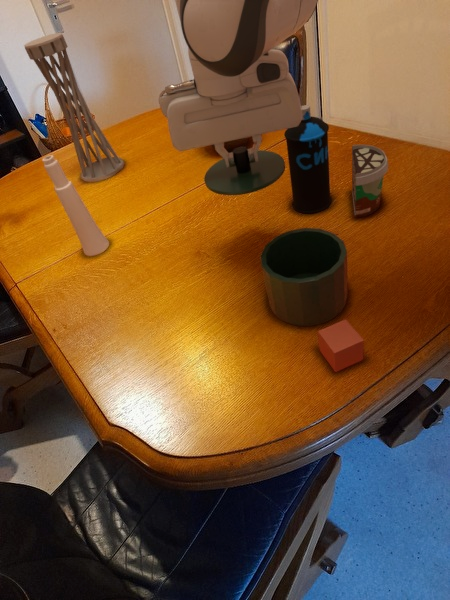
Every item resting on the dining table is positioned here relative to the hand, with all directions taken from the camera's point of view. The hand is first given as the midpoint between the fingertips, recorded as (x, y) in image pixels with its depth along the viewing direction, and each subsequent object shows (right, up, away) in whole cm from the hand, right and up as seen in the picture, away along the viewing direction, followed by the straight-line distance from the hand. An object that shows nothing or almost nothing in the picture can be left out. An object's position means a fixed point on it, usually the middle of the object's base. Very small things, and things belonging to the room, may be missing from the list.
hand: (242, 163), depth 66 cm
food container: (+26, -3, +16) cm, 31 cm away
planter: (-1, +21, +49) cm, 54 cm away
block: (+14, -30, -9) cm, 34 cm away
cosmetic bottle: (-32, -11, +26) cm, 43 cm away
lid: (0, -1, +1) cm, 2 cm away
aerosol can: (+16, -2, +20) cm, 26 cm away
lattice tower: (-40, +17, +57) cm, 71 cm away
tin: (+11, -22, +1) cm, 25 cm away
